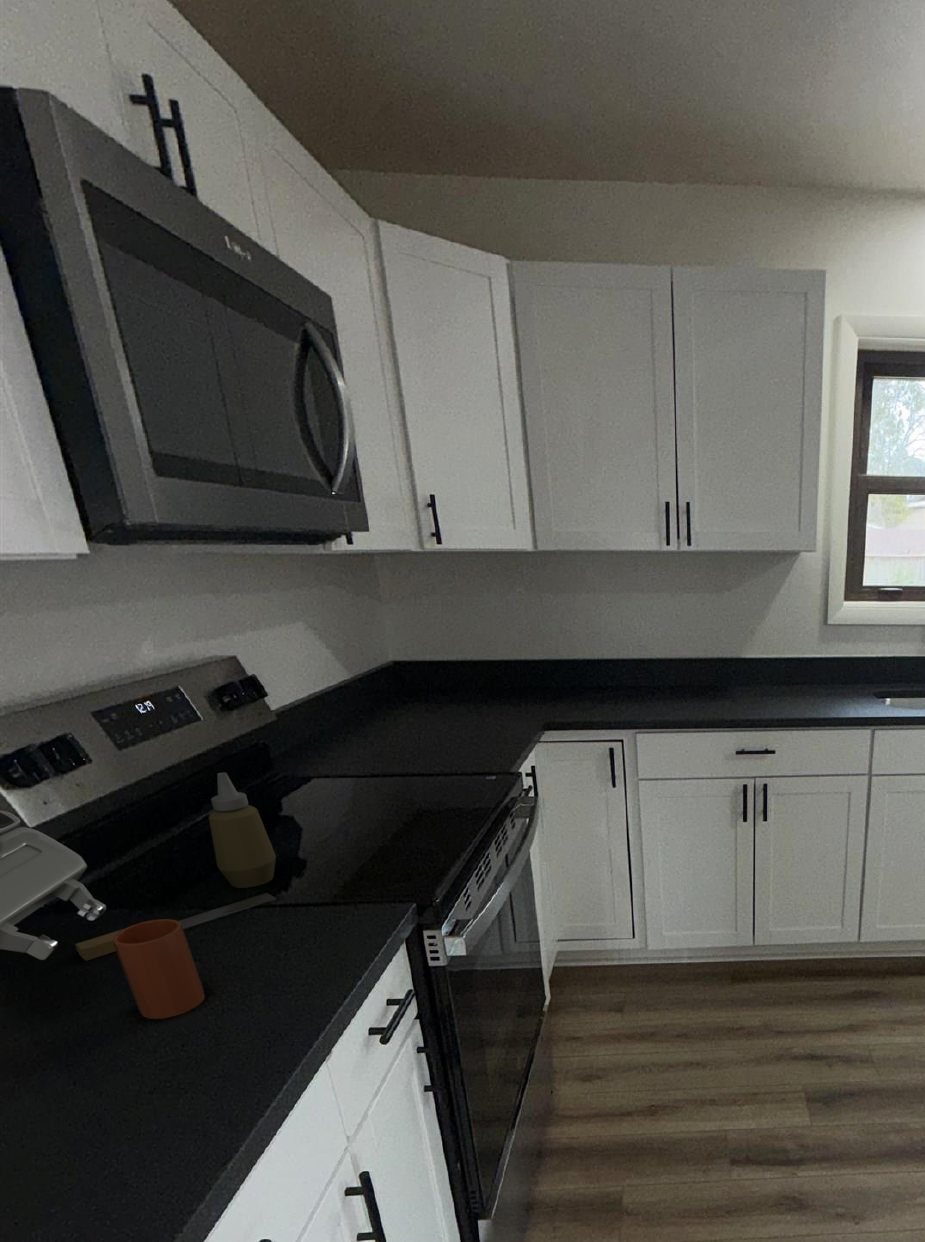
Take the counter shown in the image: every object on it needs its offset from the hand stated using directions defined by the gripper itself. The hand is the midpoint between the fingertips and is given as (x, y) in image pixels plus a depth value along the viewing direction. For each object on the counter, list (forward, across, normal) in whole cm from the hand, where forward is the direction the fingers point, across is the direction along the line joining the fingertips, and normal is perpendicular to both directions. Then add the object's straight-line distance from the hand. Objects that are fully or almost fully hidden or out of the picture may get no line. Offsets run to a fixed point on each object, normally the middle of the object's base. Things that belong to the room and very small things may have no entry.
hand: (77, 932), depth 88 cm
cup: (+12, +1, +3) cm, 13 cm away
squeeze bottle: (+9, +39, +6) cm, 40 cm away
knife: (+6, +23, +9) cm, 26 cm away
